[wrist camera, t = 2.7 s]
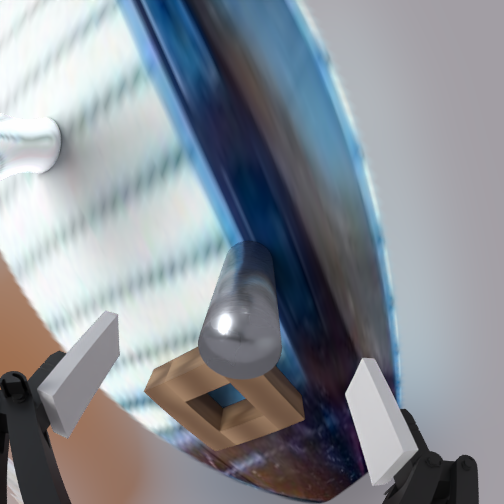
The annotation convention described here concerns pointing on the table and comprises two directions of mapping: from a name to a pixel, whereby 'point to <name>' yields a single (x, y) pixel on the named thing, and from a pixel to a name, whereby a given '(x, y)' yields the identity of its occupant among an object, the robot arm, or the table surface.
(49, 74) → the table surface
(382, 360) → the table surface
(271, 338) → the steel peg
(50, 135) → the beer glass
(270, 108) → the table surface
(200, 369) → the socket block
